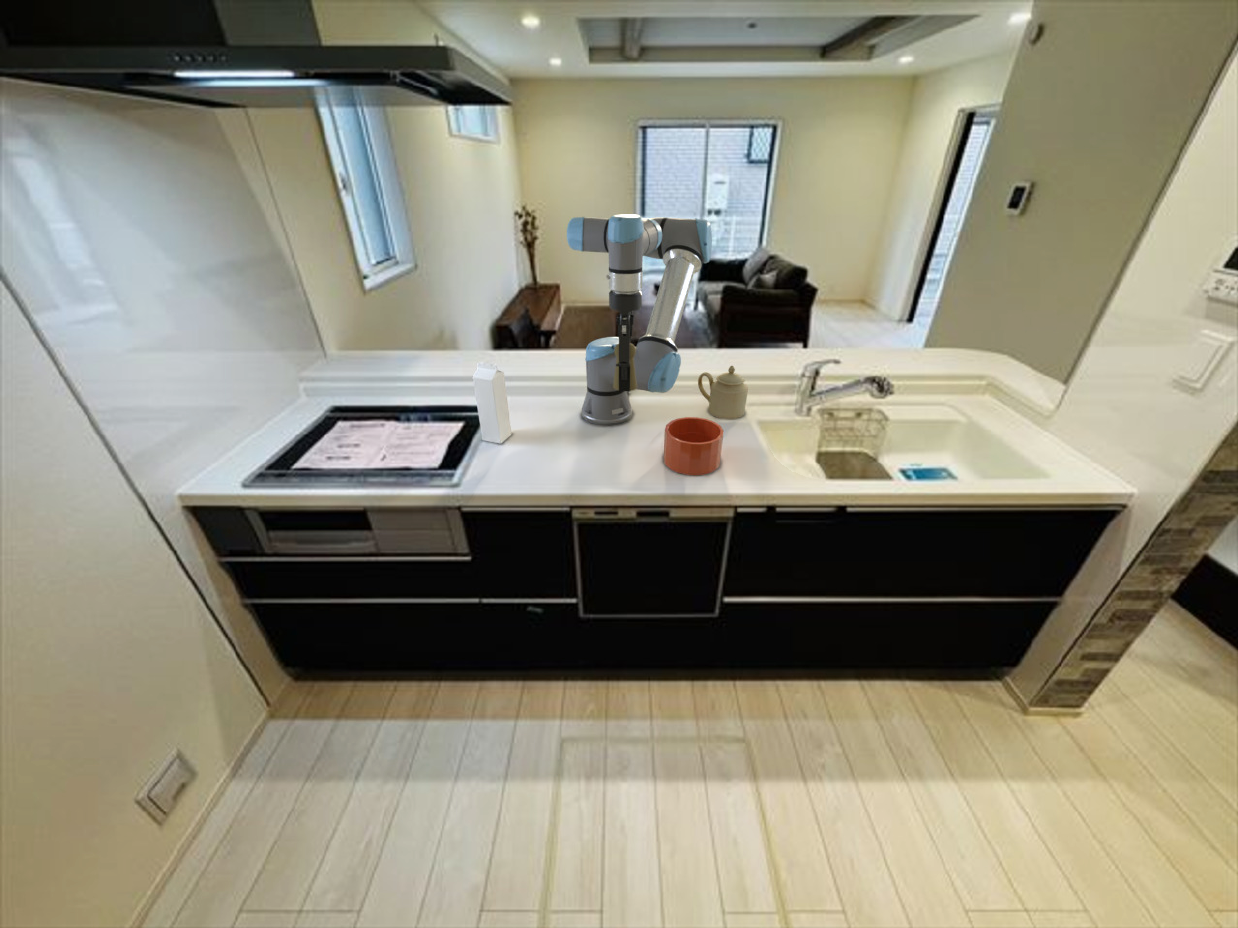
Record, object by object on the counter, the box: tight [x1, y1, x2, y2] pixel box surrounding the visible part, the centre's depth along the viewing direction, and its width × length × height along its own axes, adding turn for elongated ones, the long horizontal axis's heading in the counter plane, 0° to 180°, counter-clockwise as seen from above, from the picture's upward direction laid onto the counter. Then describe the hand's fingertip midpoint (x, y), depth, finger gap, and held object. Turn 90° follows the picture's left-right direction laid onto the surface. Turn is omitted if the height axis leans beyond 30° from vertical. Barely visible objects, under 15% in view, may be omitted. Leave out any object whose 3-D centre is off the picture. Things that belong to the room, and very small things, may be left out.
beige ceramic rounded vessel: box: [697, 365, 749, 420], centre depth 156 cm, size 15×11×15 cm
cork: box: [613, 342, 637, 392], centre depth 127 cm, size 6×6×11 cm
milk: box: [472, 361, 512, 445], centre depth 140 cm, size 6×6×22 cm
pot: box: [662, 416, 724, 476], centre depth 133 cm, size 15×15×9 cm
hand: (625, 384), depth 129 cm, fingers closed on cork, 6 cm apart
